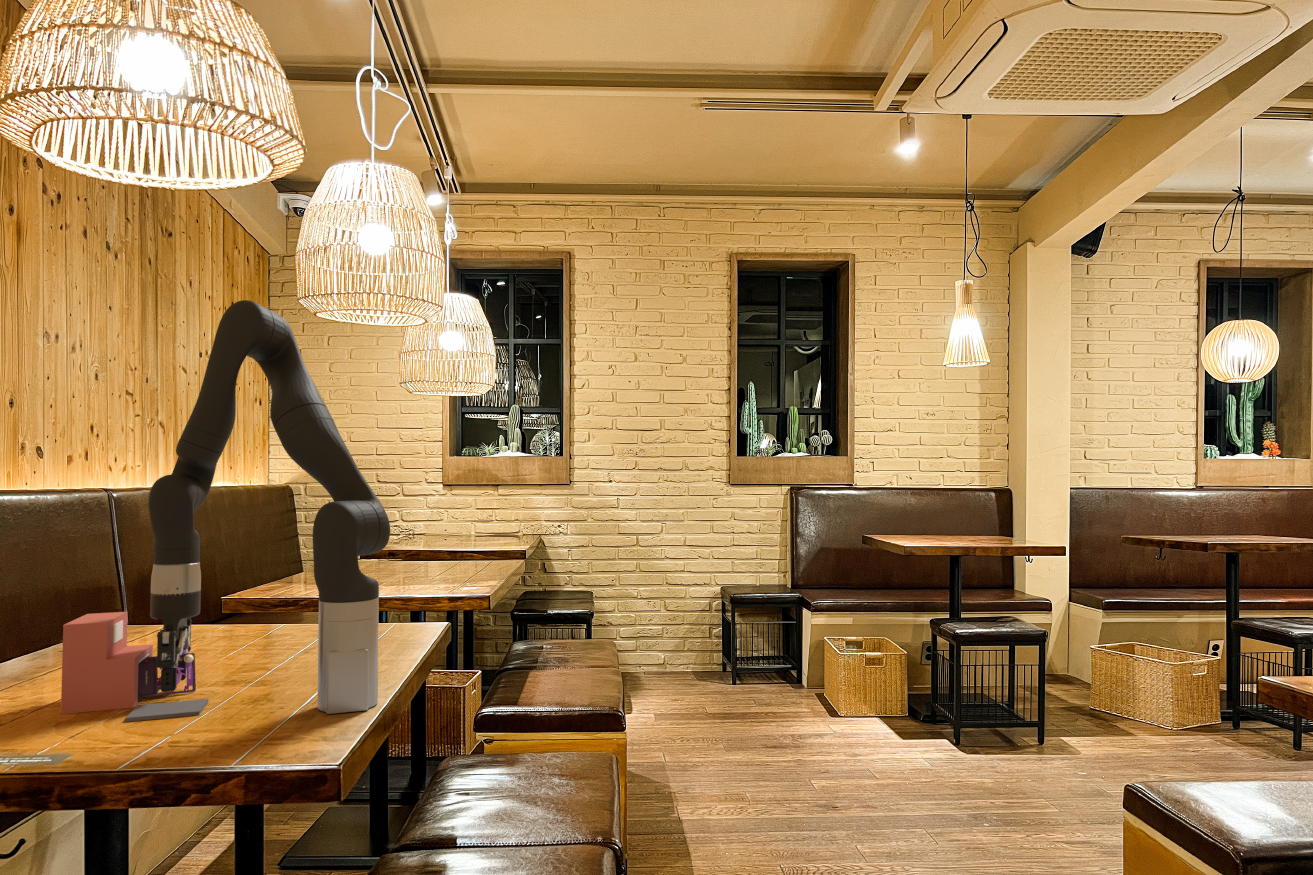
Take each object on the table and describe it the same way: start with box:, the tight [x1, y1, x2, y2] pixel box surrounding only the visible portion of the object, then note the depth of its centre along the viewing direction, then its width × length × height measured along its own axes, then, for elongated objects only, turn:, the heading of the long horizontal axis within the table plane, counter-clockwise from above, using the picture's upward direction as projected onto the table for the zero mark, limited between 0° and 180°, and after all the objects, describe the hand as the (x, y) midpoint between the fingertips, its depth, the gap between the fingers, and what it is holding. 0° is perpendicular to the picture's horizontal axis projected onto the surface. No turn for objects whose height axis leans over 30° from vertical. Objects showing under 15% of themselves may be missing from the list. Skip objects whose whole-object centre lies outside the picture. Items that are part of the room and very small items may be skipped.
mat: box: [124, 698, 209, 723], centre depth 131 cm, size 8×10×1 cm
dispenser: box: [60, 611, 154, 715], centre depth 138 cm, size 12×10×14 cm
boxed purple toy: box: [138, 652, 197, 699], centre depth 142 cm, size 7×5×9 cm
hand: (173, 685), depth 141 cm, fingers open, 7 cm apart
